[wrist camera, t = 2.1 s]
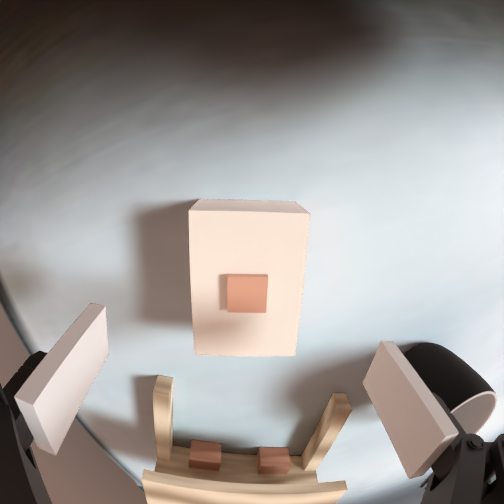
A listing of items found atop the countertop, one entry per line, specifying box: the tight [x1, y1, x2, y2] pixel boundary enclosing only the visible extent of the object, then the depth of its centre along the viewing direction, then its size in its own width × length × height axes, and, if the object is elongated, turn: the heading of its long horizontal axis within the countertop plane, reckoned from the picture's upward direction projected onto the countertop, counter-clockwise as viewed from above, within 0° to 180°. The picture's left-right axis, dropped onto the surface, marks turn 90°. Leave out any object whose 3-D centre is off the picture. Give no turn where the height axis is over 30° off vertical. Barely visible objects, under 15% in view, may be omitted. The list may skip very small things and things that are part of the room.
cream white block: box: [189, 199, 310, 356], centre depth 21 cm, size 10×7×6 cm
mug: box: [404, 343, 497, 434], centre depth 23 cm, size 12×9×10 cm
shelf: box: [142, 375, 352, 504], centre depth 24 cm, size 14×19×10 cm
